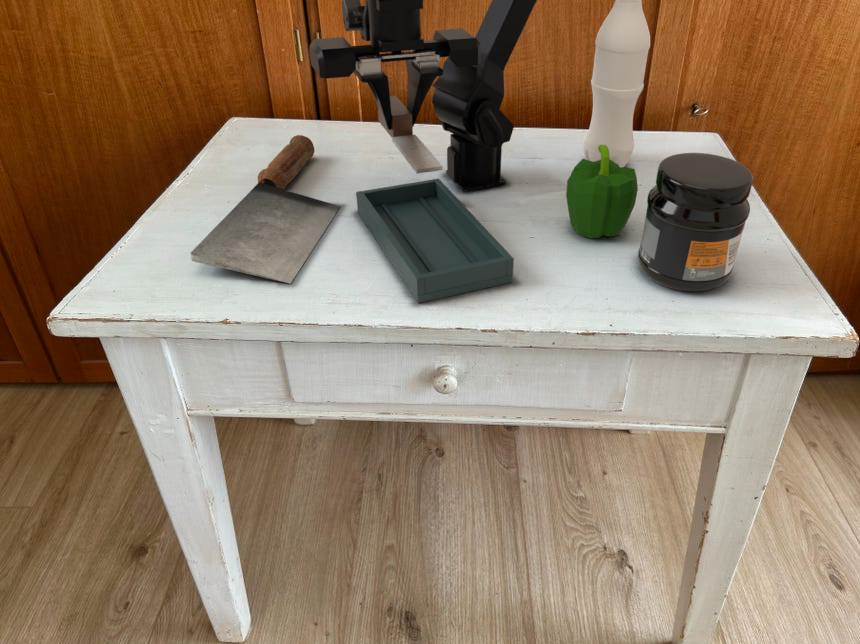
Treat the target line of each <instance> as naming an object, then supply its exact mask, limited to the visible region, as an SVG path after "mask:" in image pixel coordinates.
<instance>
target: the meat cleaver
mask: <svg viewBox="0 0 860 644" xmlns="http://www.w3.org/2000/svg"><path fill="white" fill-rule="evenodd" d="M314 155H315V146H314V143H313V141H312V140H311V138H309V137H308V136H305V135H303V134H302V135H300V134H297V135H294V136H293V137H292V138H290V140H289V143H288V144H287V145H285V146H284V147H283V148H282V149H281V150H280V152H279V153H277V155H275V156H274V158H273V159H272V160H271V161H270V162H269V164H268V165H267V167H266V168H264V169H261V170H260V172H258V175H257V184H256V185H255V186H254V187H253V188H252V189H251V190H250V191H249V192H248V193H247V194H246V195H244V197H243V198H242V199H241V200H240V201H239V202H238V203H237V204H236V205H235V206H234V207H233V209H231V211H229V212H228V214H227V215H225V217H224V218H223V219H222V220H221V221H220V222H219V223H218V224H217V225H216V226H215V227H214V228H213V229H212V230H211V231H210V232H209V233H208V234H207V235H206V236H205V237H204V238H202V240H201V241H200V242H199V243H198V244H197V245H196V246H195V247H194V248H193V250H191V252H190V260H191V262H195V263H199V264H203V265H207V266H211V267H215V268H219V269H224V270H230V271H233V272H238V273H242V274H246V275H251V276H256V277H260V278H264V279H268V280H273V281H276V282H281V283H286V284H289V285H290V284H292V282H293V280H295V278H296V276H297V275H298V273H299V272H300V270H301V268H302V267H303V265H304V264H305V262H306V260H307V259H308V257H309V256H310V255H311V253H312V252H313V250H314V248H315V247H316V245H317V244H318V242H319V240H320V239H321V237H322V236H323V234H324V233H325V231H326V230H327V228H328V227H329V225H330V223H331V222H332V220H333V219H334V217H335V216H336V215H337V213H338V211H339V210H340V208H341V206H340V205H338V204H334V203H331V202H327V201H324V200H321V199H317V198H313V197H311V196H307V195H304V194H300V193H298V192H294V191H291V190H287V189H286V188H287V186H288V185H289V184H290V183H291V182H292V181H293V180H294V178H295V177H296V176H297V175H298V173H299V172H300V171H301V170H302V169H303V167H304V166H305V165H306V164H307V162H308V160H310V159H312V158H313V157H314Z"/></svg>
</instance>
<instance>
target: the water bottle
mask: <svg viewBox="0 0 860 644" xmlns="http://www.w3.org/2000/svg"><path fill="white" fill-rule="evenodd" d="M642 3H643V1H642V0H615V1H614V2H613V6H612V7H611V9H610V11H609V12H608V14H607V15H606V17H605V19H604V20H603V22H602V24H601V26H600V27H599V29H598V32H597V34H596V37H595V43H594V44H595V49H594V58H593V69H592V75H591V76H592V77H591V80H590V85H591V91H592V110H591V111H592V112H591V113H592V114H591V119H590V124H589V128H588V131H587V133H586V135H585V137H584V140H583V156H584V159H585V160H589V161H592V162H594V161H598V160H601V152H599V149H598V146H599V145H606V146H607V147H608V150H609V159H610V160H612V161H613V162H615V163H617V164H618V165H619V167H626V165H627V163H628V162H629V161H630V159H631V158H632V154H633V151H634V148H635V141H634V130H633V129H634V126H633V125H634V114H635V109H636V105H637V102H638V99H639V96H640V95H641V93H642V91H643V90H644V86H645V84H644V80H645V74H646V68H647V61H648V55H649V51H650V50H649V49H650V48H651V33H650V29H649V25H648V22H647V19H646V15H645V12H644V10H643V4H642Z"/></svg>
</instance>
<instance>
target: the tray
mask: <svg viewBox="0 0 860 644" xmlns="http://www.w3.org/2000/svg"><path fill="white" fill-rule="evenodd" d="M355 195H356V205H357V214H358V216H359V218H360V219H361V220H362V222H363V223H364V225H365V226H366V228H367V229H368V231H369V232H370V234H371V235H372V237H373V238H374V240H375V241H376V242H377V245H378V246H379V248H380V249H381V250H382V252H383V253H384V254H385V257H386V258H387V259H388V260H389V262H390V263H391V265H392V266H393V268H394V269H395V271H396V272H397V274H398V276H399V277H400V279H401V281H403V283H404V285H405V286H406V288H407V289H408V291H409V293H410V294H411V296H413V298H414V299H415V301H416V302H417V304H421V303H426V302H430V301H435V300H439V299H443V298H448V297H453V296H457V295H462V294H467V293H471V292H475V291H479V290H483V289H488V288H494V287H497V286H501V285H507V284H511V283H513V278H514V277H513V276H514V262H515V259H514V257H513V256H512V255H511V254H510V252H508V250H506V248H504V247H503V245H502V244H501V243H500V242H499V241H498V240H497V239H496V238H495V237H494V236H493V234H492V233H490V232H489V230H488V229H487V228H486V227H485V226H484V225H483V224H482V223H481V222H480V221H479V219H477V217H476V216H474V214H472V212H471V211H470V210H469V209H468V207H466V206H465V205H464V204H463V202H461V200H460V199H459V198H458V197H457V196H456V195H455V194H454V193H453V192H452V191H451V190H450V189H449V187H447V185H445V183H444V182H443V181H442V180H441V179H440V178H439V177H438V178H433V179H426V180H421V181H414V182H409V183H408V182H407V183H403V184H397V185H390V186H383V187H379V188H378V187H377V188H371V189H365V190H360V191H356V192H355Z"/></svg>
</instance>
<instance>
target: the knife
mask: <svg viewBox="0 0 860 644" xmlns="http://www.w3.org/2000/svg"><path fill="white" fill-rule="evenodd" d="M390 104H391V114H392V126H391V130H388V129H387V128H386V125H385V123H384V120H383V118H382V115H381V113H380V110H379V107H378V106H377V119H378V123H380V125H381V126H382V128H383V129H384V130H385V131H386V132H387V134H388V135H389V136H390V138H391V142H392V144H393V145H394V146H395V147H396V149H397V150H398V151H399V153H400V154H401V155H402V156H403V158H404V159H405V160H406V162H407V163H408V164H409V165H410V166H411V168H412V169H413V170H414V172H415V173H416V174H417V175H418V174H424V173H432V172H438V171H439V172H440V171H443V170H444V169H443V165H442V163H440V161H439V160H438V159H437V158H436V157H435V156H434V154H433V153H432V152H431V151H430V150H429V148H427V146H426V145H425V144H424V142H422V140H421V139H420V138H419V137H418V136H417V134H413V133H414V132H413V130H414V126H413V127H412V113H411V112H410V111H409V110H408V109H407V106H405V104H404V103H403V102H402V101H401V100H400V99H399V98H398V96H396V95H390Z"/></svg>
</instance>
